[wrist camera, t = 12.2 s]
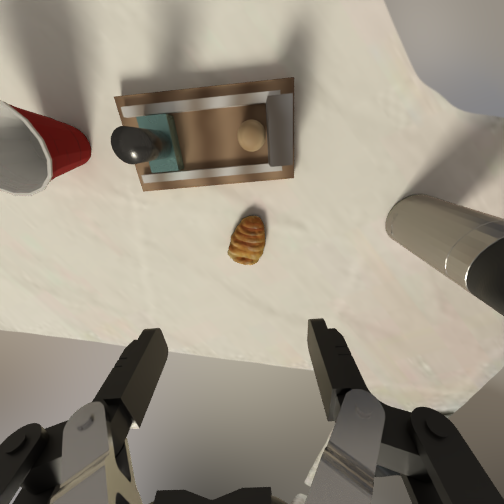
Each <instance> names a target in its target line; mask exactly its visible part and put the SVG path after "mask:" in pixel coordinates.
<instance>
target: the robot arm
mask: <svg viewBox="0 0 504 504" xmlns="http://www.w3.org/2000/svg"><path fill="white" fill-rule="evenodd" d="M386 231H387V234H388V235H389V236H390V238H392V239H393V240H395V241H396V242H397V243H399V244H400V245H402V246H403V247H404V248H406V249H407V250H409V251H410V252H412V253H413V254H415V255H416V256H417V257H419V258H420V259H422V260H423V261H425V262H426V263H428V264H429V265H430V266H432V267H433V268H435V269H436V270H438V271H439V272H441V273H442V274H443V275H445V276H446V277H448V278H449V279H451V280H452V281H454V282H455V283H457V284H458V285H460V286H461V287H462V288H464V289H465V290H467V291H468V292H470V293H471V294H473V295H474V296H476V297H477V298H478V299H480V300H482V301H483V302H484V303H486V304H487V305H489V306H490V307H492V308H493V309H494V310H496V311H497V312H499V313H500V314H502V315H503V316H504V219H503V218H499V217H496V216H493V215H490V214H486V213H483V212H480V211H476V210H473V209H470V208H467V207H463V206H460V205H457V204H454V203H450V202H447V201H444V200H441V199H438V198H434V197H431V196H428V195H422V194H418V195H412V196H409V197H407V198H405V199H403V200H401V201H400V202H399V203H397V204H396V205H395V206H394V207H393V209H392V210H391V211H390V213H389V215H388V217H387V220H386ZM307 342H308V349H309V353H310V357H311V361H312V365H313V368H314V372H315V376H316V379H317V383H318V387H319V390H320V394H321V398H322V402H323V405H324V409H325V412H326V416H327V420H328V421H335V426H334V428H333V431H332V434H331V437H330V440H329V442H328V445H327V447H326V448H325V450H324V452H323V454H322V457H321V460H320V462H319V465H318V468H317V471H316V473H315V476H314V479H313V482H312V484H311V487H310V490H309V493H308V496H307V498H306V501H305V504H371V500H372V494H373V487H374V482H373V481H374V474H375V469H376V464H377V465H380V466H383V467H385V468H388V469H391V470H394V471H396V472H399V473H400V474H401V477H402V479H403V481H404V484H405V486H406V489H407V492H408V494H409V497H410V499H411V501H412V504H504V499H503V498H502V497H501V495H500V493H499V492H498V490H497V489H496V487H495V486H494V484H493V483H492V481H491V480H490V478H489V477H488V475H487V474H486V472H485V471H484V469H483V467H482V466H481V464H480V463H479V461H478V460H477V458H476V457H475V455H474V454H473V453H472V451H471V449H470V448H469V446H468V445H467V443H466V442H465V440H464V439H463V437H462V436H461V434H460V433H459V431H458V430H457V428H456V427H455V426H454V424H453V423H452V422H451V421H450V420H449V419H448V418H446V417H445V416H444V415H443V414H441V413H439V412H438V411H436V410H434V409H431V408H427V407H418V408H416V409H414V410H413V411H412V413H411V412H408V411H404V410H401V409H397V408H394V407H391V406H388V405H386V404H384V403H382V402H380V401H379V400H378V399H377V398H376V397H375V396H373V395H372V394H371V393H370V391H369V390H368V388H367V386H366V384H365V382H364V380H363V378H362V376H361V374H360V372H359V369H358V367H357V365H356V363H355V361H354V359H353V357H352V356H351V352H350V350H349V348H348V347H347V344H346V342H345V339H344V337H343V336H342V335H341V334H340V333H339V332H338V331H337V330H336V329H335V328H332V329H328V328H327V326H326V323H325V321H324V319H323V318H322V319H309V320H308V337H307ZM167 356H168V347H167V344H166V341H165V339H164V336H163V334H162V331H161V329H160V328H153V329H144V330H143V331H142V333H141V335H140V336H139V338H138V340H133V341H132V342H131V343H130V344H129V345H128V346H127V347H126V348H125V349H124V351H123V353H122V354H121V356H120V358H119V360H118V361H117V363H116V364H115V366H114V368H113V369H112V371H111V372H110V374H109V375H108V377H107V379H106V380H105V382H104V384H103V385H102V387H101V388H100V390H99V392H98V393H97V395H96V397H95V398H94V400H93V401H92V402H91V403H88V404H86V405H84V406H83V407H81V408H80V409H79V410H77V411H76V412H75V413H74V414H73V415H72V416H71V417H70V419H69V420H68V421H65V422H62V423H59V424H57V425H54V426H52V427H49V428H46V429H44V428H43V427H41V425H39V424H37V423H32V424H28V425H26V426H23V427H22V428H20V429H18V430H17V431H16V432H14V433H13V434H11V435H10V436H9V437H8V438H7V439H6V440H5V441H4V442H3V443H2V444H1V445H0V504H9V503H10V501H11V500H12V498H13V497H14V495H15V493H16V492H17V490H18V489H19V487H22V489H21V491H20V493H19V494H18V496H17V497H16V499H15V501H14V502H13V504H143V503H142V500H141V497H140V494H139V492H138V490H137V487H136V483H135V478H134V472H133V467H132V462H131V456H130V451H129V445H128V441H127V438H126V437H127V434H128V432H129V430H130V429H136V428H140V426H141V423H142V421H143V418H144V415H145V413H146V411H147V408H148V406H149V403H150V401H151V398H152V396H153V393H154V390H155V388H156V385H157V383H158V380H159V378H160V375H161V373H162V370H163V368H164V365H165V363H166V360H167ZM150 504H287V503H286V502H284V501H283V500H281V499H279V498H277V497H275V496H272V493H271V487H257V488H241V489H239V490H237V491H234V492H232V493H229V494H226V495H224V496H222V497H219V498H217V499H214V500H209V499H207V498H204V497H202V496H199V495H196V494H194V493H191V492H189V491H186V490H163V491H157V493H156V496H155V500H154V501H153V502H151V503H150Z"/></svg>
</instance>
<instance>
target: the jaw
mask: <svg viewBox="0 0 504 504" xmlns="http://www.w3.org/2000/svg"><path fill="white" fill-rule="evenodd" d="M136 119H137V122H138V126H139V128H137V127H129V126H120V127H118V128H116V129H115V130H114V131H113V133H112V136H111V145H112V148H113V151H114V152H115V154H116V155H117V156H118V157H119V158H120V159H121V160H122V161H124V162H126V163H128V164H138V163H143V162H149V165H150V168H151V172H152V173H157V172H167V171H178V170H181V169H184V163H183V159H182V154H181V149H180V145H179V140H178V135H177V131H176V126H175V121H174V117H173V116H171V115H168V114H157V115H148V116H138V117H136Z"/></svg>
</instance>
